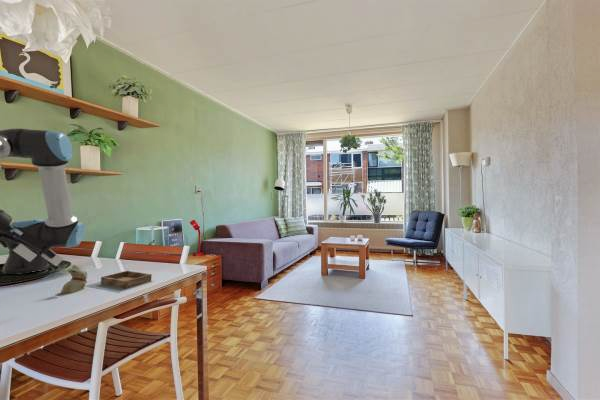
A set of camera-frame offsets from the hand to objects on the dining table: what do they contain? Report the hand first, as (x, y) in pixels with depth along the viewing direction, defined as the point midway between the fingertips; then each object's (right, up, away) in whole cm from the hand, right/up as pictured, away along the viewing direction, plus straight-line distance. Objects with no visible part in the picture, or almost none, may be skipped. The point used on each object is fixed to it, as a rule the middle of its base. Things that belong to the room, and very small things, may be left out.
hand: (46, 260), depth 97 cm
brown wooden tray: (+15, -13, +21) cm, 29 cm away
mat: (+13, -14, +19) cm, 27 cm away
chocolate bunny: (+2, -14, +9) cm, 16 cm away
